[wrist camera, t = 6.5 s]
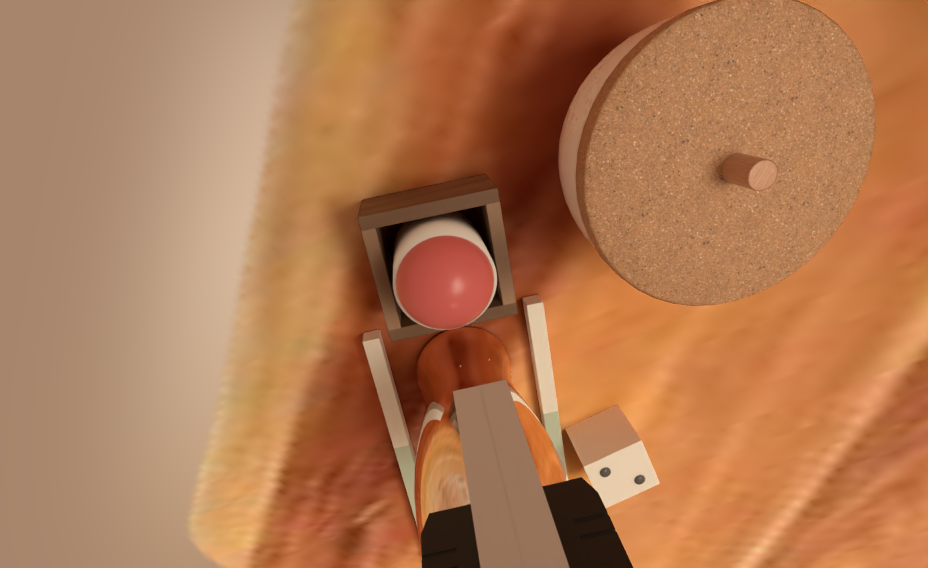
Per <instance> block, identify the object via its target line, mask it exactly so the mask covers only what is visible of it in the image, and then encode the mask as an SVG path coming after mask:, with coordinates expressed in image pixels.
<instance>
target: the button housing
mask: <svg viewBox="0 0 928 568" xmlns="http://www.w3.org/2000/svg"><path fill="white" fill-rule="evenodd" d="M473 207H478V208H479V213H480V219H481V225H482V230H483V236H484V241H485V246H486V248H487V250H488V252H489V254H490V256H491V258H492V260H493V262H494V265H495V268H496V273H497V286H496V291H495V294H494V297H493V299H492V302H491V303H490V305H489V306H488V308H487V309H486V310H485V312H484V313H483V314H482V315H481V316H480V317H478V318H477V319H476V320H474V321H473V322H471V323H469V324H467V325H471V324H475V323H480V322H484V321H489V320H493V319H498V318H502V317H507V316H511V315H516V314H518V311H517V305H516V298H515V292H514V286H513V280H512V274H511V268H510V261H509V255H508V249H507V243H506V237H505V231H504V224H503V218H502V212H501V206H500V200H499V193H498V188H497V187H496V186H495V185H494V183H493V182H492V181H491V180H490V179H489V178H488V177H487V176H486V174H483V175H478V176H473V177H468V178H464V179H459V180H454V181H449V182H445V183H440V184H435V185H430V186H426V187H421V188H416V189H411V190H407V191H402V192H397V193H392V194H387V195H383V196H378V197H373V198H368V199H364V200H362V203H361V207H360V210H359V214H358V221H359V225H360V229H361V232H362V236H363V240H364V243H365V247H366V251H367V255H368V258H369V262H370V266H371V269H372V273H373V277H374V280H375V284H376V288H377V291H378V295H379V299H380V302H381V306H382V310H383V313H384V317H385V321H386V324H387V328H388V332H389V336H390V339H391V342H394V341H399V340H403V339H408V338H412V337H417V336H421V335H426V334H430V333H435V332H439V331H444V330H436V329H431V328H427V327H424V326H422V325H420V324H418V323H416V322H414V321H413V320H411V319H410V318H409V317H408V316H407V315H406V314H405V313H404V312H403V311H402V309H401V308H400V306H399V305H398V303H397V301H396V298H395V295H394V290H393V267H392V263H391V259H390V255H389V251H388V247H387V243H386V239H385V235H384V231H383V227H384V226H389V225H393V224H398V223H403V222H407V221H412V220H417V219H421V218H426V217H431V216H436V215H440V214H445V213H450V212H454V211H459V210H464V209H469V208H473ZM465 326H466V325H465Z"/></svg>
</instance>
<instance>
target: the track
mask: <svg viewBox="0 0 928 568" xmlns="http://www.w3.org/2000/svg"><path fill="white" fill-rule="evenodd" d="M522 299H523V305H524V311H525V318H526V324H527V331H528V337H529V343H530V350H531V356H532V363H533V369H534V375H535V382H536V388H537V395H538V401H539V407H540V414H541V420H542V426H543V427H544V429H545V430H546V432H547V433H548V435H549V437H550V438H551V440H552V442H553V444H554V446H555V448H556V451H557V453H558V455H559V457H560V459H561V461H562V463H563V466H564V469H565V471H566V474H567V470H566V463H565V456H564V448H563V441H562V434H561V427H560V420H559V413H558V406H557V399H556V391H555V384H554V377H553V370H552V363H551V356H550V349H549V342H548V334H547V327H546V320H545V313H544V306H543V301H542V300H541V298H540V297H539V295H533V296H528V297H524V298H522ZM363 345H364V349H365V352H366V355H367V359H368V362H369V366H370V369H371V372H372V376H373V379H374V383H375V386H376V389H377V393H378V396H379V399H380V403H381V406H382V410H383V413H384V416H385V420H386V423H387V427H388V430H389V433H390V437H391V440H392V443H393V447H394V450H395V454H396V457H397V460H398V464H399V467H400V471H401V474H402V477H403V481H404V484H405V487H406V491H407V494H408V498H409V501H410V504H411V508H412V511H413V514H414V518H415V521H416V510H415V498H414V471H415V462H416V458H415V454H414V451H413V447H412V444H411V440H410V436H409V433H408V429H407V426H406V422H405V418H404V415H403V411H402V408H401V404H400V400H399V397H398V393H397V390H396V386H395V382H394V379H393V375H392V372H391V368H390V364H389V361H388V357H387V354H386V350H385V346H384V343H383V339H382V336H381V332H380V329H379V330H374V331H370V332H365V333H364V334H363ZM416 525H417V522H416Z"/></svg>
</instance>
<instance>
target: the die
mask: <svg viewBox="0 0 928 568" xmlns="http://www.w3.org/2000/svg"><path fill="white" fill-rule="evenodd" d="M565 430H566V432H567V434H568V436H569V438H570V440H571V442H572V444H573V446H574V448H575V451H576V453H577V455H578V457H579V459H580V461H581V463H582V465H583V467H584V469H585V471H586V473H587V475H588V477H589V479H590V481H591V483H592V485H593V487H594V489H595V490H596V491H597V492H598V493H599V495H600V497H601V500H602V502H603V504H604V506H605V508H607V507H610V506H612V505H614V504H616V503H618V502H621V501H623V500H625V499H627V498H629V497H632V496H634V495H636V494H638V493H640V492H642V491H645V490H647V489H649V488H651V487H653V486H656V485H658V484H660V482H659V480H658V478H657V475H656V473H655V471H654V468H653V466H652V464H651V461H650V459H649V457H648V454H647V452H646V450H645V447H644V445H643V442H642V440H641V439H640V437H639V436H638V434H637V433H636V431H635V430H634V428H633V427H632V425H631V424H630V422H629V421H628V419H627V418H626V416H625V415H624V413H623V412H622V410H621V409H620V407H619V406H618V404H617V405H615V406H613V407H610V408H608V409H606V410H604V411H602V412H600V413H598V414H595V415H593V416H591V417H589V418H587V419H585V420H583V421H580V422H578V423H576V424H574V425H572V426H570V427H568V428H565Z"/></svg>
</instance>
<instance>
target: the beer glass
mask: <svg viewBox="0 0 928 568" xmlns="http://www.w3.org/2000/svg"><path fill="white" fill-rule="evenodd" d="M416 377H417V382H418V385H419V388H420V391H421V393H422V395H423V398H424V400H425V412H424V418H423V423H422V427H421V432H420V437H419V442H418V447H417V454H416V462H415V471H414V498H415V510H416V522H417V529H418V536H419V543H420V550H421V532H422V530H423V527H424V525H425V522H426V520H427V518H428V515H429V513H433V512H437V511H442V510H446V509H451V508H455V507H460V506H464V505H468V504H470V497H469V491H468V484H467V478H466V472H465V465H464V459H463V453H462V446H461V440H460V433H459V427H458V421H457V414H456V408H455V402H454V395H453V391H457V390H461V389H466V388H470V387H475V386H479V385H484V384H488V383H493V382H498V381H502V380H507V383H508V386H509V389H510V392H511V395H512V398H513V401H514V404H515V407H516V410H517V413H518V416H519V419H520V422H521V425H522V428H523V431H524V434H525V437H526V440H527V443H528V446H529V449H530V452H531V455H532V458H533V461H534V464H535V467H536V470H537V473H538V475H539V478H540V481H541V484H542V486H546V485H550V484H555V483H559V482H564V481H568V480H569V479H568V477H567V474H566V471H565V469H564V466H563V463H562V461H561V459H560V457H559V455H558V453H557V451H556V448H555V446H554V444H553V442H552V440H551V438H550V437H549V435H548V433H547V432H546V430H545V429H544V427H543V426H542V424H541V423H540V421H539V419H538V418H537V417H536V415H535V414H534V413H533V411H532V410H531V409H530V407H529V406H528V405H527V403H526V402H525V401H524V400H523V398H522V397H521V396H520V394H519V393H518V392H517V390H516V389H515V387H514V385H513V383H512V379H511V363H510V358H509V355H508V352H507V350H506V348H505V346H504V345H503V344H502V342H501V341H500V340H499V339H498V338H497V337H495V336H494V335H493V334H491V333H489V332H488V331H485V330H483V329H479V328H475V327H459V328H456V329H450V330H446V331H444V332H442V333H440V334H439V335H437V336H436V337H434V338H433V339H432V340H431V341H429V342H428V343H427V345H426V346H425V347H424V348H423V350H422V352H421V354H420V356H419V358H418V362H417V366H416ZM421 556H422V551H421Z"/></svg>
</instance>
